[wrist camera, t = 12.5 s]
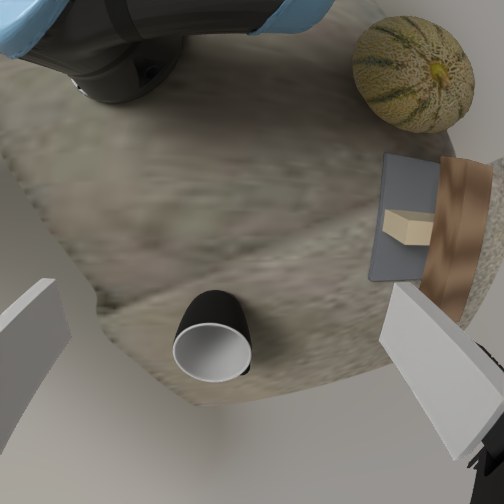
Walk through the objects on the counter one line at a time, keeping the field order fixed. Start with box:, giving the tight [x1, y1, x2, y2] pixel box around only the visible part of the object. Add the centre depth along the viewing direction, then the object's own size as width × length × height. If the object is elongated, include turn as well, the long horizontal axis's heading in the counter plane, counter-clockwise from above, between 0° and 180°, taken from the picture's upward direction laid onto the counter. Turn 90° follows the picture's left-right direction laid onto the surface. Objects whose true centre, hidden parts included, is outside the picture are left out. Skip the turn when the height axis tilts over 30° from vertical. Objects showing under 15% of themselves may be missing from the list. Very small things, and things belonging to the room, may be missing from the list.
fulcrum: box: [368, 153, 440, 281], centre depth 34 cm, size 18×14×7 cm
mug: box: [173, 290, 252, 382], centre depth 36 cm, size 12×9×10 cm
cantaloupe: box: [353, 16, 475, 133], centre depth 24 cm, size 15×15×15 cm
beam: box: [419, 156, 493, 322], centre depth 29 cm, size 20×5×5 cm, turn 179°
